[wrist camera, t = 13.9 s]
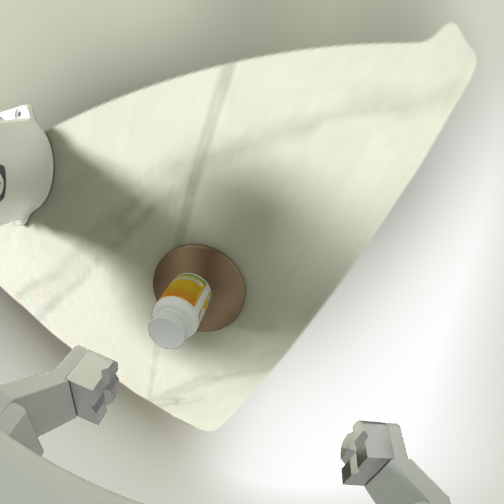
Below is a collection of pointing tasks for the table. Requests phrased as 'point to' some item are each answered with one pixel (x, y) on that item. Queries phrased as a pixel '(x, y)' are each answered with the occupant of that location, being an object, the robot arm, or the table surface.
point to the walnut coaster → (216, 275)
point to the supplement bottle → (179, 310)
